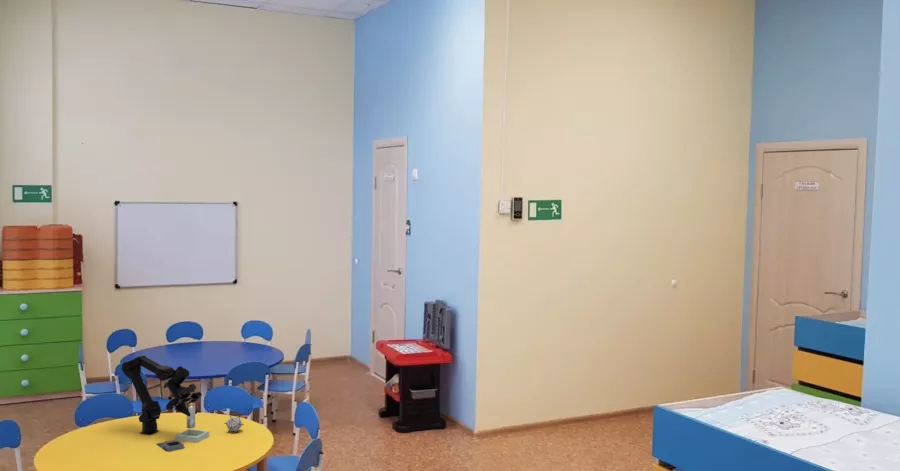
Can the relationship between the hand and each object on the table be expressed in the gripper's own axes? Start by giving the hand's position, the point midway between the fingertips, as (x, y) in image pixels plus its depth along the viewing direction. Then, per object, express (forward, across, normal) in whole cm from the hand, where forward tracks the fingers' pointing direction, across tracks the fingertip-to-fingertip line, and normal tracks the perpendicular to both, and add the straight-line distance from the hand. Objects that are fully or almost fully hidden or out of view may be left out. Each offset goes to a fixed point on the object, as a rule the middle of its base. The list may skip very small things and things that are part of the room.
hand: (193, 414), depth 371 cm
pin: (+4, 0, +5) cm, 6 cm away
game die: (+14, +21, +4) cm, 26 cm away
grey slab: (+8, -12, +11) cm, 18 cm away
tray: (+8, +1, +10) cm, 13 cm away
